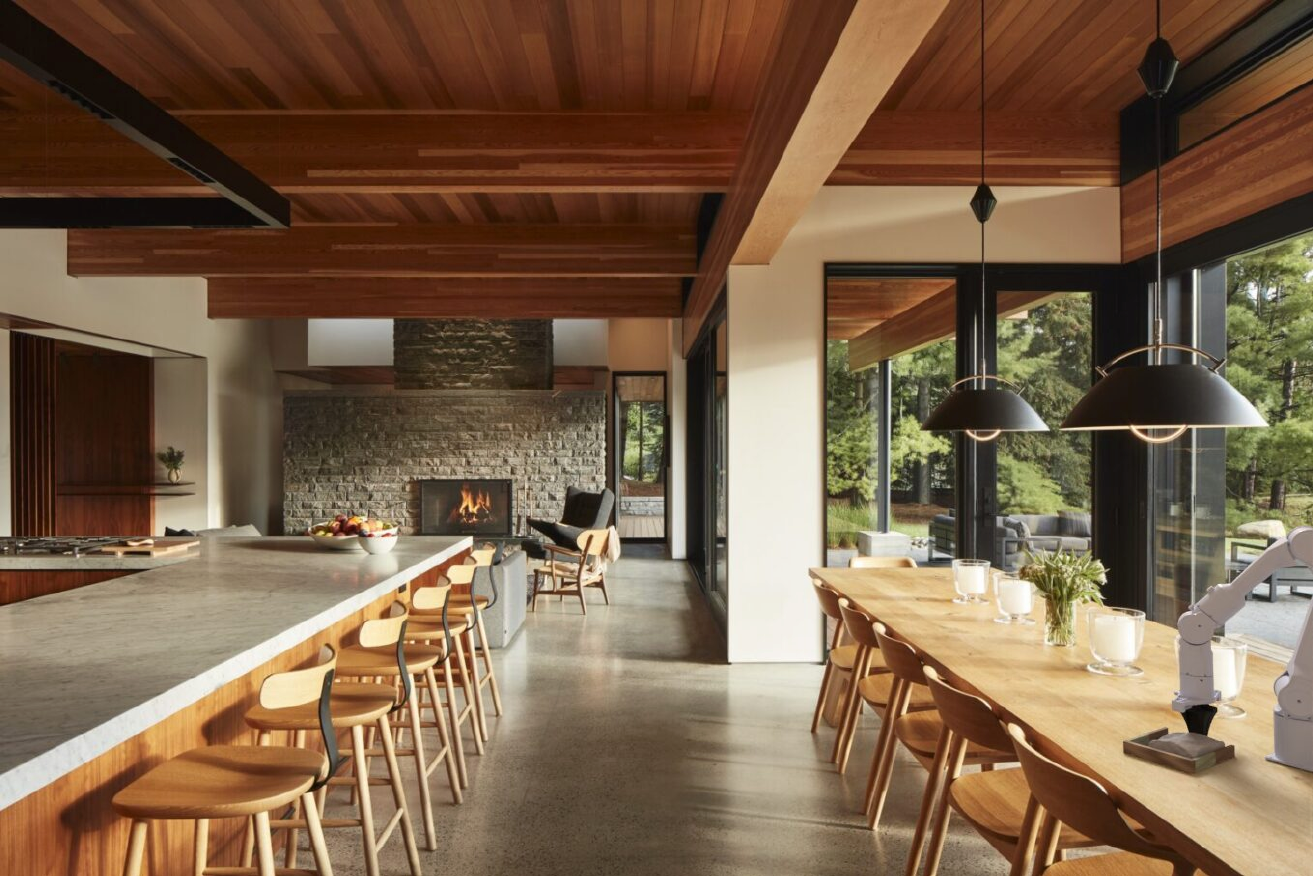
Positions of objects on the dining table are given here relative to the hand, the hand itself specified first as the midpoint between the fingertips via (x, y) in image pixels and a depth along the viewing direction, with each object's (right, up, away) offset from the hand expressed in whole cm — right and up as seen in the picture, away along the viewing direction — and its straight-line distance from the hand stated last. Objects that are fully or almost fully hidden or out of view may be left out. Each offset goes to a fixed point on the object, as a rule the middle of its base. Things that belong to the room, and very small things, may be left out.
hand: (1198, 742), depth 164 cm
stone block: (-5, -1, -4) cm, 7 cm away
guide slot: (-6, -1, -4) cm, 7 cm away
